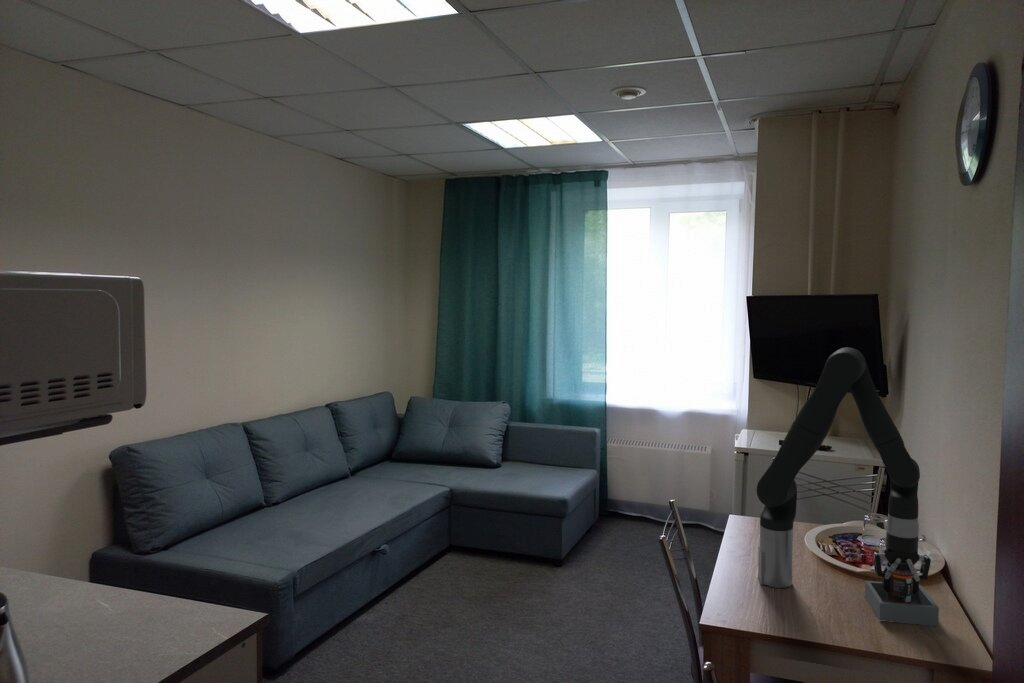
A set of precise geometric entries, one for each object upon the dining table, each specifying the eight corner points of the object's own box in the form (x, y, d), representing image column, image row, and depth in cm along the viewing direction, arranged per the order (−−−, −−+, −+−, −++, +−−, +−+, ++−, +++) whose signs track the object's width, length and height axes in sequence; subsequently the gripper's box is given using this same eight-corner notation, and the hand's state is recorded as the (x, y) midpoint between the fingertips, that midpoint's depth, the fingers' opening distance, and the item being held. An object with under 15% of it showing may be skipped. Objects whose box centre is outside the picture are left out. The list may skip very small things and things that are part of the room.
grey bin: (879, 621, 186) (879, 603, 185) (864, 597, 199) (865, 580, 199) (938, 626, 183) (938, 607, 182) (919, 601, 196) (920, 584, 196)
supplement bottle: (915, 607, 187) (917, 566, 186) (891, 605, 188) (892, 564, 187) (908, 597, 193) (909, 557, 192) (884, 595, 194) (885, 555, 193)
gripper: (877, 535, 187) (875, 596, 189) (937, 538, 184) (934, 600, 185) (869, 525, 194) (867, 584, 196) (926, 528, 191) (924, 588, 193)
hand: (900, 591), depth 191 cm, fingers closed on supplement bottle, 6 cm apart
